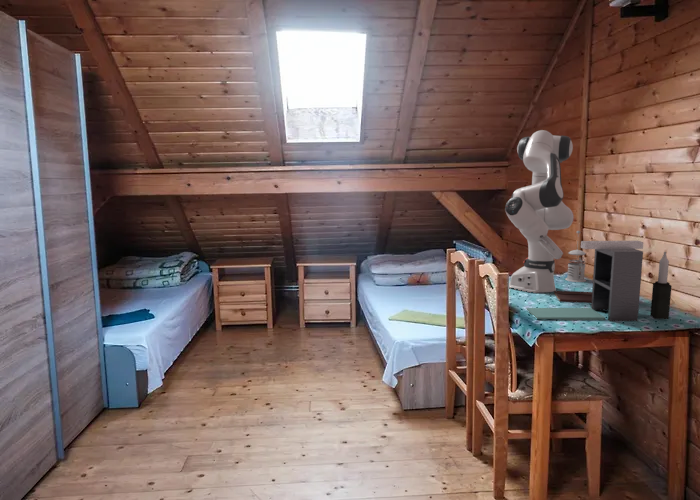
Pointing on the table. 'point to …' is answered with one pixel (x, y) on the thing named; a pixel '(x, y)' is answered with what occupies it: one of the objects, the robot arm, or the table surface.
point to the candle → (661, 292)
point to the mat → (566, 313)
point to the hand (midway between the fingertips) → (552, 250)
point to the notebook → (574, 296)
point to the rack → (617, 283)
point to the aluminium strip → (611, 244)
